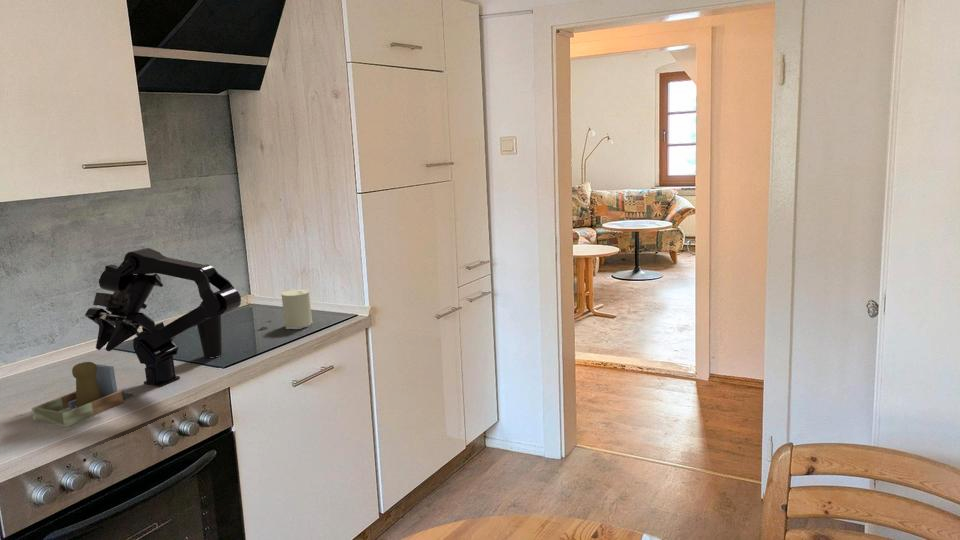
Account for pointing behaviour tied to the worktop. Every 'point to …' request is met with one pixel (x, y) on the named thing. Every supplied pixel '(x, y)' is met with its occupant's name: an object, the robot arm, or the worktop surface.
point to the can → (296, 308)
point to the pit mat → (126, 395)
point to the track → (52, 415)
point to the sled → (103, 382)
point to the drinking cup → (211, 336)
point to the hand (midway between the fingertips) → (102, 349)
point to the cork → (86, 383)
